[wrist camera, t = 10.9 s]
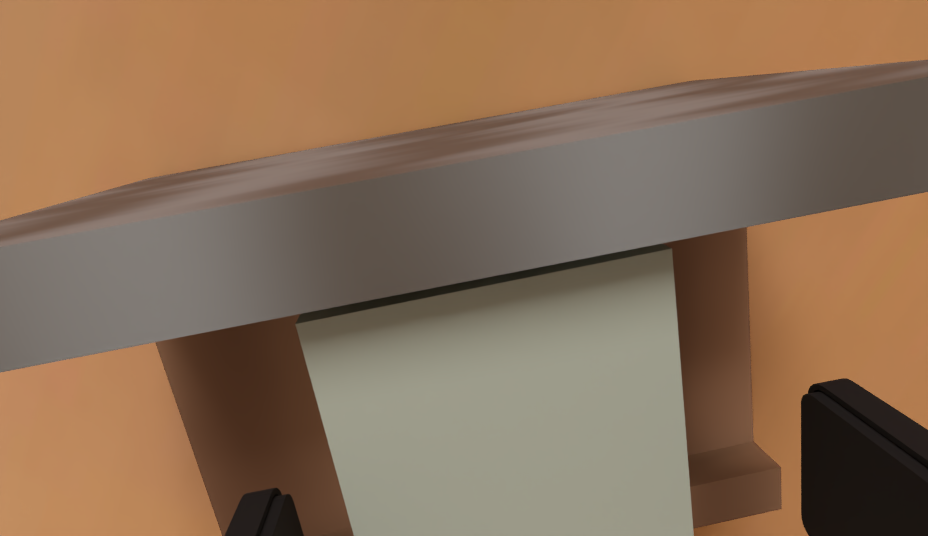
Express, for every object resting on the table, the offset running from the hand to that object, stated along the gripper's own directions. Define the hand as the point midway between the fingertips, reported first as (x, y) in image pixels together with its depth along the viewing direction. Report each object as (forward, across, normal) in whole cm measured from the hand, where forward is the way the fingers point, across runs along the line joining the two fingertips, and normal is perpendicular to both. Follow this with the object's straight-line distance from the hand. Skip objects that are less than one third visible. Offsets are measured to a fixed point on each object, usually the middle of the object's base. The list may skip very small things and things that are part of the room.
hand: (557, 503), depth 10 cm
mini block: (+8, +1, 0) cm, 8 cm away
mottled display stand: (+11, +1, +1) cm, 11 cm away
